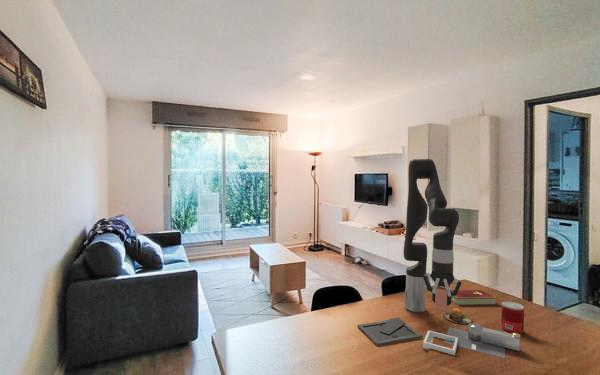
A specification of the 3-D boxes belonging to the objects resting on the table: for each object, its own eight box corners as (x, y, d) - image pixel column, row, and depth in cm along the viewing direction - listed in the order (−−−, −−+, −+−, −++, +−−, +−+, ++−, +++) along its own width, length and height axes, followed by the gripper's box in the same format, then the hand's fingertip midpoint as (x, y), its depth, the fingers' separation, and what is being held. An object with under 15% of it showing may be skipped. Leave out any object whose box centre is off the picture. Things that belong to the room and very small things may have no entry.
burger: (477, 323, 141) (477, 307, 141) (462, 329, 135) (462, 312, 135) (452, 313, 151) (453, 298, 151) (437, 319, 145) (437, 303, 145)
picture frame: (398, 321, 143) (357, 328, 136) (398, 317, 143) (357, 323, 136) (422, 339, 127) (377, 347, 121) (422, 334, 127) (377, 342, 121)
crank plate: (444, 344, 122) (444, 342, 122) (449, 329, 135) (449, 326, 135) (505, 361, 111) (505, 358, 111) (504, 342, 124) (504, 339, 124)
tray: (422, 348, 119) (423, 342, 119) (428, 336, 129) (428, 330, 128) (454, 357, 113) (454, 350, 113) (458, 344, 123) (458, 337, 123)
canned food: (527, 335, 130) (527, 309, 129) (505, 333, 131) (506, 307, 131) (518, 326, 137) (518, 302, 137) (498, 325, 139) (498, 300, 138)
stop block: (435, 308, 120) (435, 288, 120) (436, 305, 123) (437, 285, 123) (446, 311, 118) (446, 290, 117) (447, 307, 121) (448, 287, 121)
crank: (467, 339, 124) (467, 325, 123) (468, 334, 128) (468, 320, 128) (520, 352, 114) (520, 337, 114) (519, 346, 119) (519, 332, 118)
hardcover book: (445, 296, 173) (445, 289, 172) (482, 296, 174) (482, 288, 173) (457, 305, 161) (457, 297, 161) (496, 305, 162) (497, 297, 161)
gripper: (421, 259, 120) (420, 303, 121) (462, 265, 113) (461, 311, 114) (424, 255, 127) (424, 296, 127) (464, 260, 119) (463, 304, 120)
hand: (441, 303), depth 120 cm, fingers closed on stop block, 4 cm apart
